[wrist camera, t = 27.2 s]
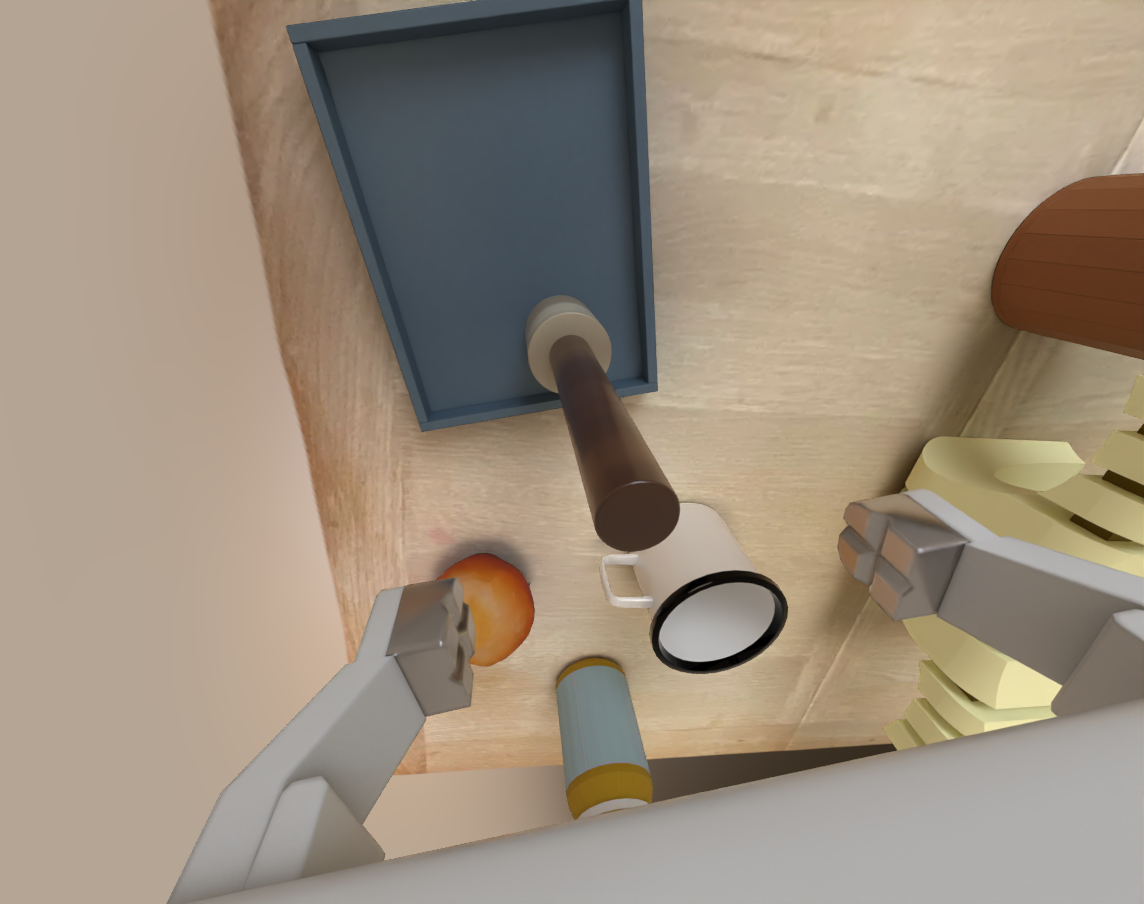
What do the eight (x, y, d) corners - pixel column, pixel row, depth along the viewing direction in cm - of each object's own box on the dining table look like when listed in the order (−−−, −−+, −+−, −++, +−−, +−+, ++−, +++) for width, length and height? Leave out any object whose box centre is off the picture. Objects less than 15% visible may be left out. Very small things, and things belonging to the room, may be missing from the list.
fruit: (501, 646, 39) (457, 704, 31) (446, 573, 40) (390, 613, 32) (570, 596, 37) (541, 644, 29) (511, 520, 38) (469, 548, 30)
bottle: (595, 644, 43) (634, 836, 30) (637, 674, 46) (688, 861, 33) (540, 679, 44) (554, 877, 31) (584, 707, 47) (614, 897, 34)
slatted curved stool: (958, 326, 31) (1396, 443, 16) (1137, 343, 34) (1666, 458, 18) (808, 625, 45) (963, 842, 30) (942, 621, 48) (1150, 819, 32)
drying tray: (303, 40, 20) (284, 25, 19) (630, -4, 21) (641, -22, 19) (426, 419, 30) (421, 432, 28) (649, 380, 30) (658, 391, 29)
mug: (744, 495, 36) (809, 576, 28) (714, 582, 41) (764, 672, 33) (600, 492, 34) (627, 577, 27) (585, 583, 39) (604, 679, 31)
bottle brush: (518, 301, 26) (535, 458, 10) (591, 289, 27) (727, 424, 10) (531, 371, 29) (563, 597, 12) (599, 360, 29) (721, 567, 12)
